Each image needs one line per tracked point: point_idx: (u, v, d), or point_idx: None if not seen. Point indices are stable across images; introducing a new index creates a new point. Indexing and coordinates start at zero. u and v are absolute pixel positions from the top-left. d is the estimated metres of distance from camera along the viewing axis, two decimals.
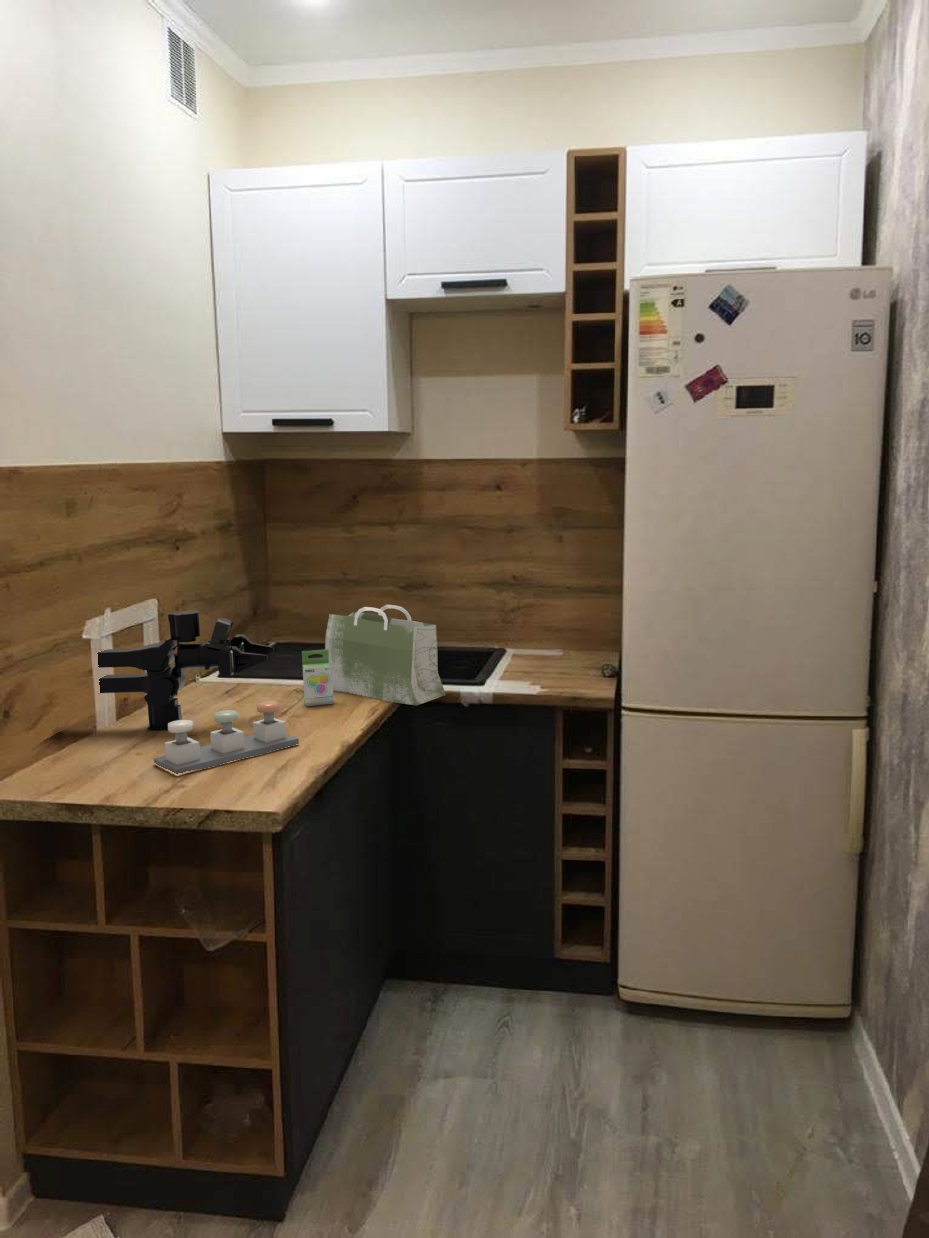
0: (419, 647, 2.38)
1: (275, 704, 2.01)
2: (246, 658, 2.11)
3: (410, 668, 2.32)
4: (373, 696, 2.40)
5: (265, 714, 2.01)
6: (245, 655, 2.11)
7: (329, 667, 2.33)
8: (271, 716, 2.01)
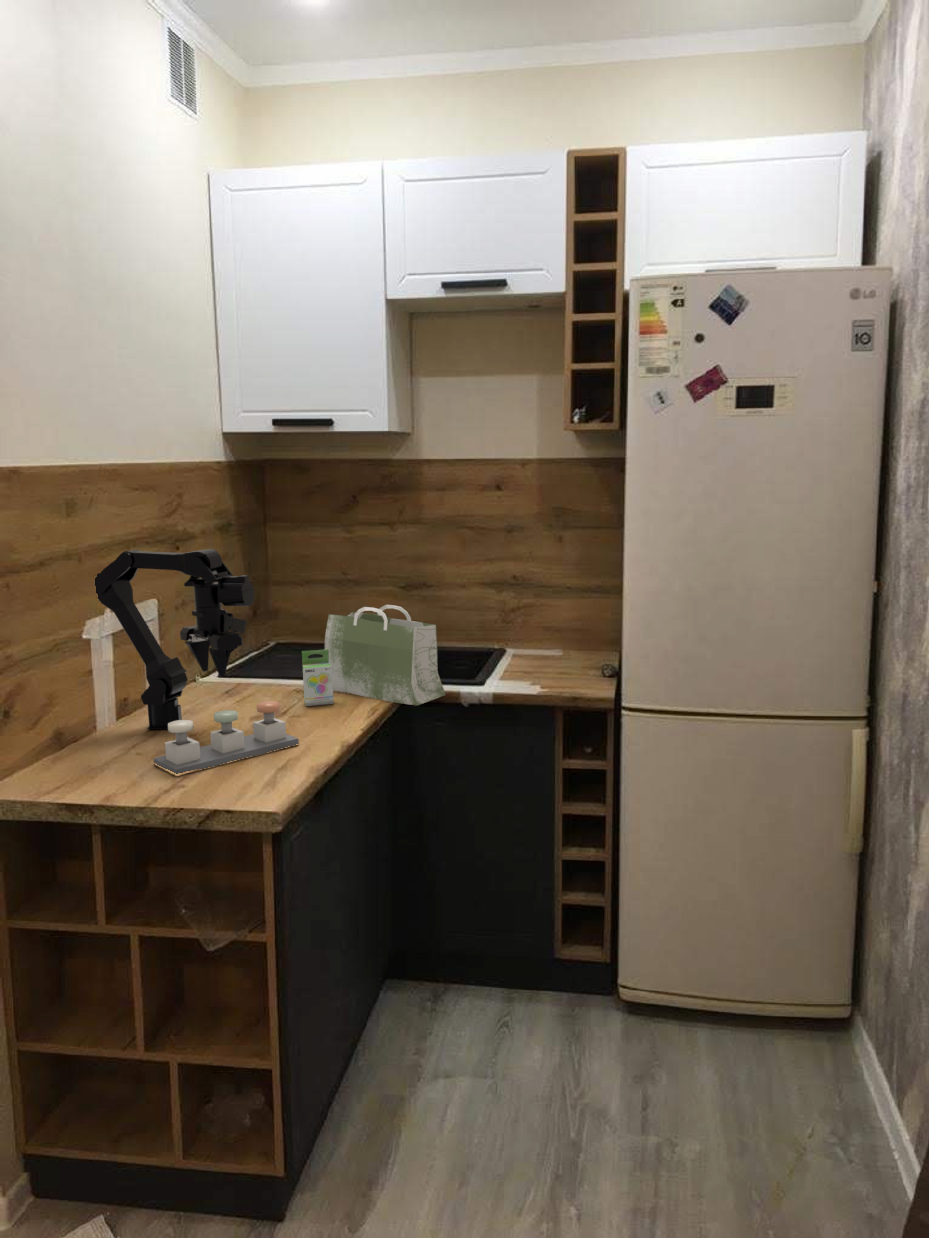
0: (419, 647, 2.38)
1: (275, 704, 2.01)
2: (224, 657, 2.09)
3: (410, 668, 2.31)
4: (373, 696, 2.40)
5: (265, 714, 2.01)
6: (227, 656, 2.09)
7: (329, 667, 2.33)
8: (271, 716, 2.01)
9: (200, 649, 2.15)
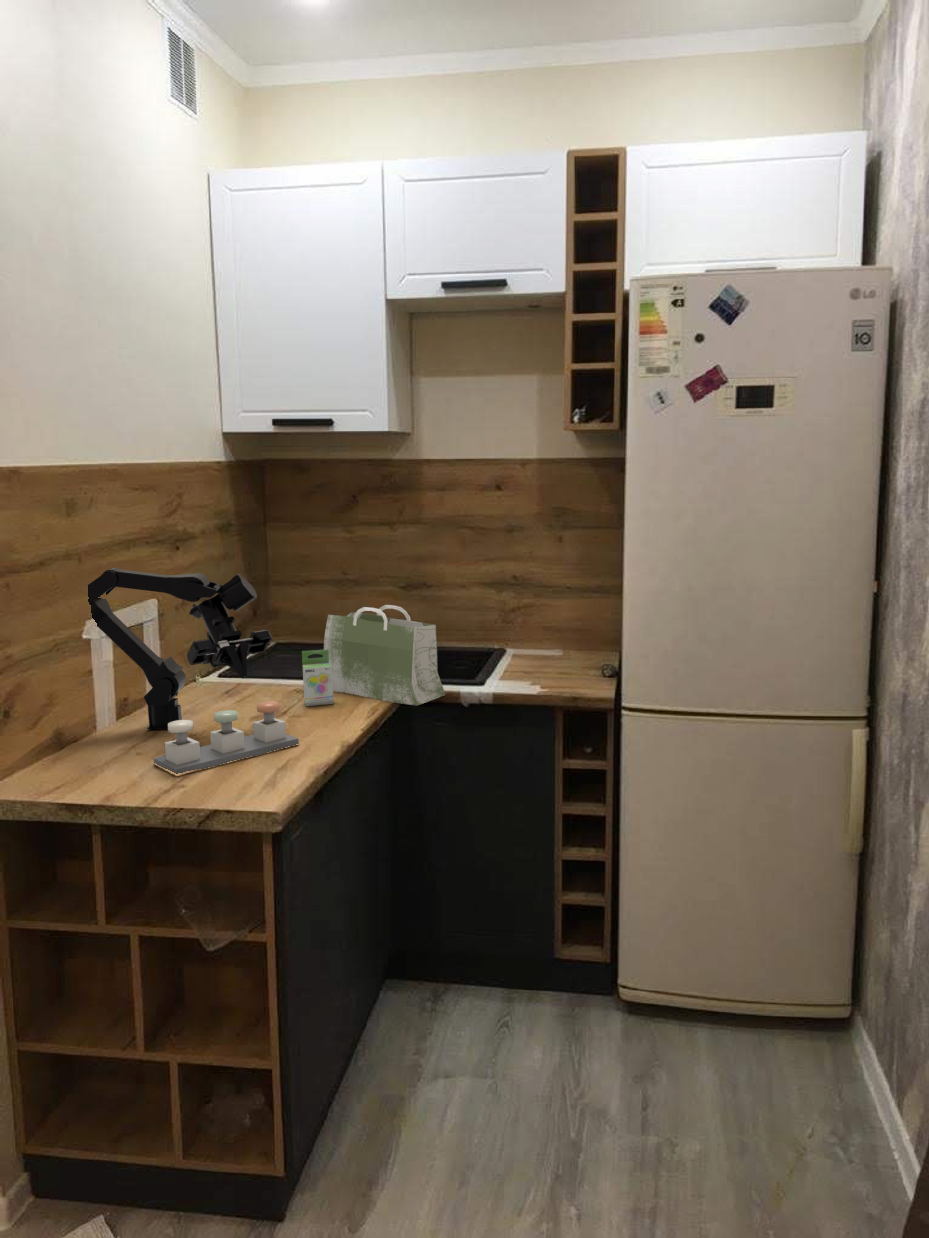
0: (419, 647, 2.38)
1: (275, 704, 2.01)
2: None
3: (410, 668, 2.31)
4: (373, 696, 2.40)
5: (265, 714, 2.01)
6: None
7: (329, 667, 2.33)
8: (271, 716, 2.01)
9: None
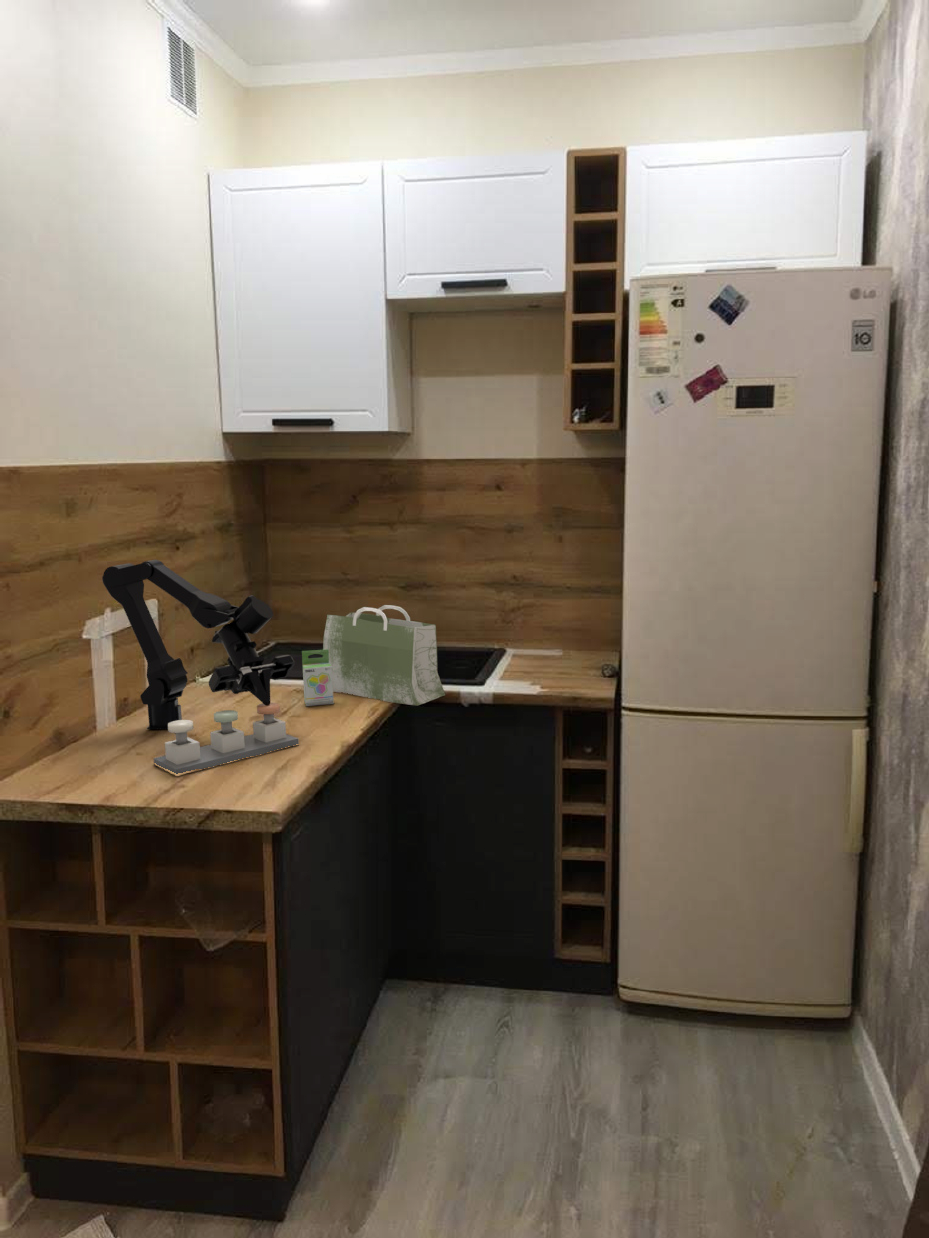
0: (419, 647, 2.38)
1: (275, 706, 2.01)
2: None
3: (411, 668, 2.31)
4: (373, 696, 2.40)
5: (265, 716, 2.01)
6: None
7: (329, 667, 2.33)
8: (271, 718, 2.01)
9: None
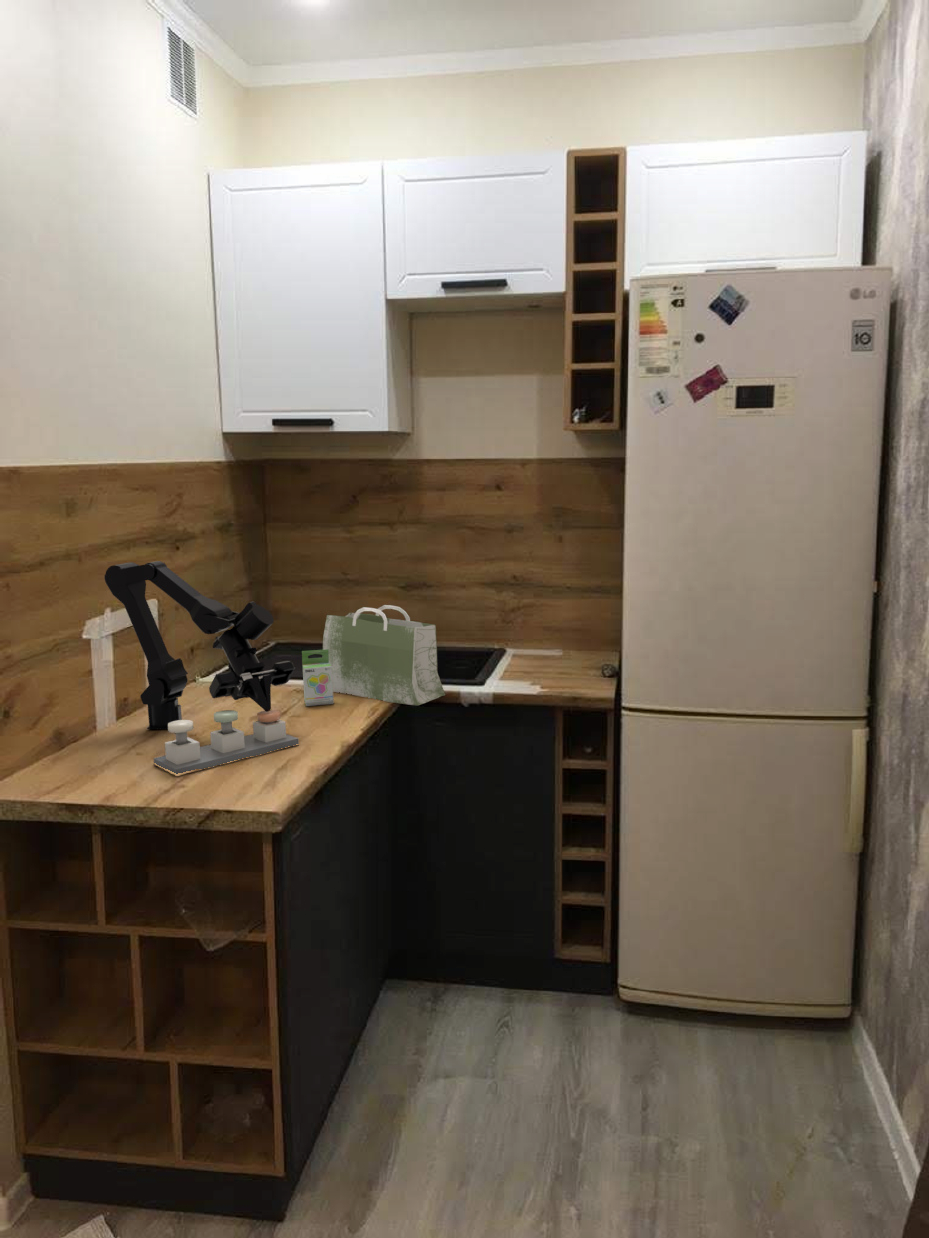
0: (419, 647, 2.38)
1: (276, 713, 2.01)
2: None
3: (411, 668, 2.31)
4: (373, 697, 2.39)
5: (266, 723, 2.01)
6: None
7: (329, 667, 2.33)
8: None
9: None
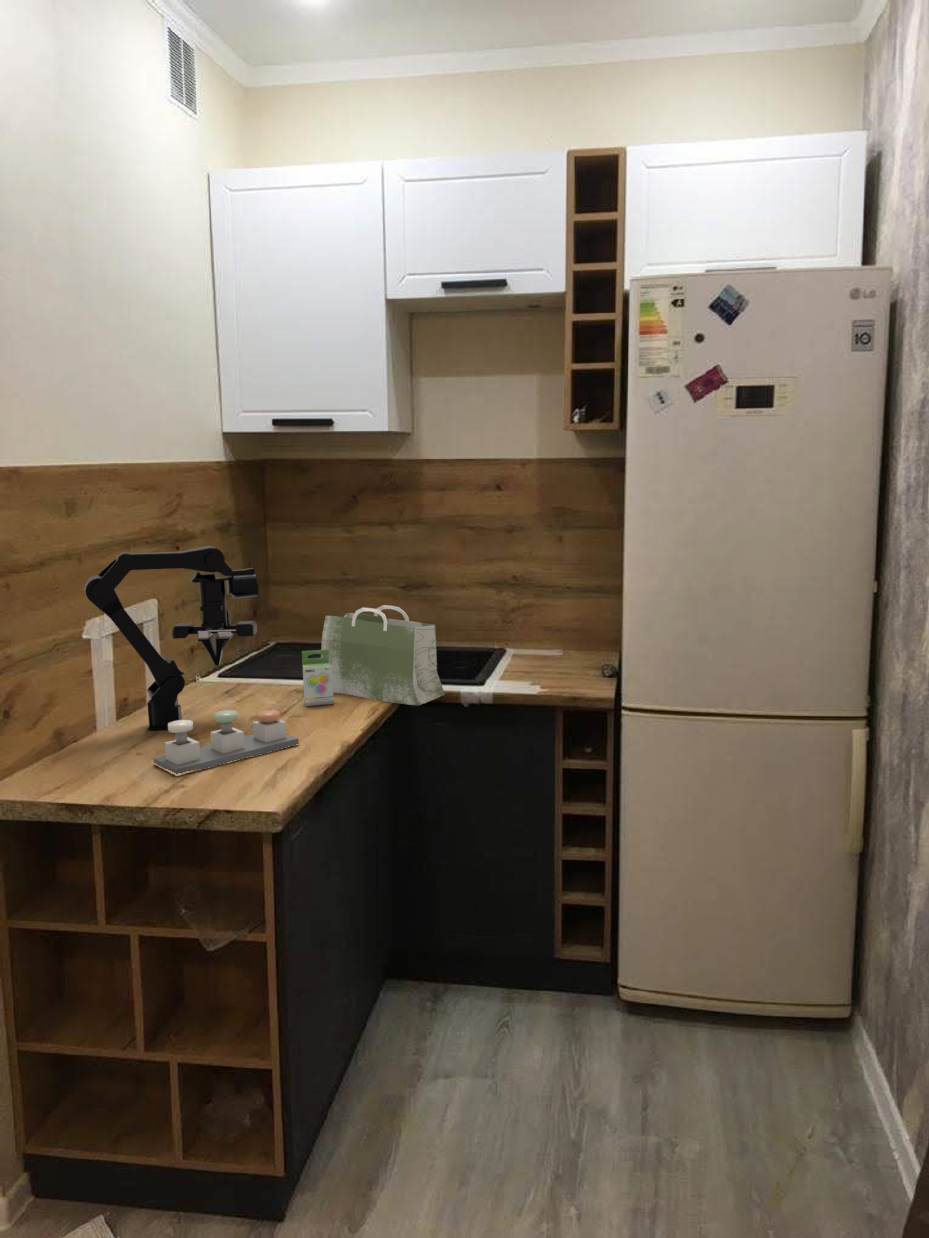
0: (419, 647, 2.38)
1: (276, 713, 2.01)
2: (222, 646, 2.21)
3: (412, 668, 2.31)
4: (372, 697, 2.39)
5: (266, 723, 2.01)
6: (224, 645, 2.22)
7: (329, 667, 2.33)
8: None
9: (213, 644, 2.20)
